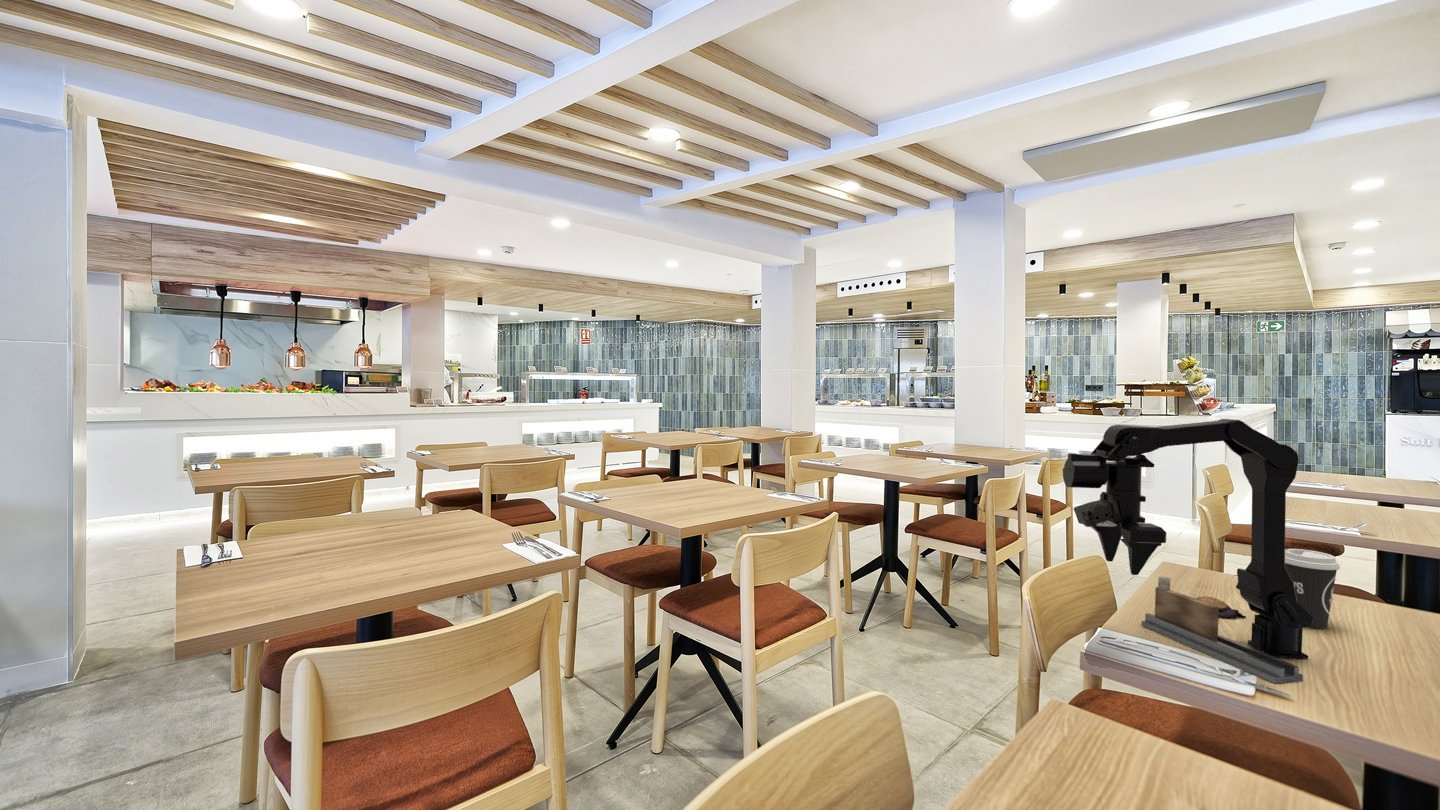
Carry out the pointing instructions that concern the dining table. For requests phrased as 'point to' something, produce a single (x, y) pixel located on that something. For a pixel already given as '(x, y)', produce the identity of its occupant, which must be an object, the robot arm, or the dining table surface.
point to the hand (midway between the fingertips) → (1121, 567)
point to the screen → (1185, 610)
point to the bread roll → (1222, 608)
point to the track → (1228, 651)
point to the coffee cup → (1312, 582)
